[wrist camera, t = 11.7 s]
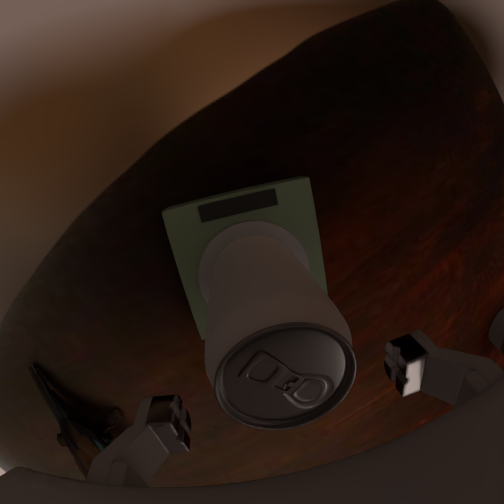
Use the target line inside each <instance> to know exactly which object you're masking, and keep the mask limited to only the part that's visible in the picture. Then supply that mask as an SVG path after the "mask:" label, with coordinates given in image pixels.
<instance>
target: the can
mask: <svg viewBox="0 0 504 504" xmlns="http://www.w3.org/2000/svg"><path fill="white" fill-rule="evenodd" d="M205 368H206V373H207V376H208V379H209V381H210V383H211V385H212V386H213V388H214V393H215V397H216V400H217V402H218V404H219V406H220V407H221V408H222V410H223V411H224V412H225V413H226V414H227V415H228V416H229V417H231V418H232V419H233V420H235V421H237V422H238V423H240V424H243V425H245V426H248V427H251V428H255V429H260V430H272V431H274V430H287V429H293V428H297V427H301V426H304V425H307V424H309V423H312V422H314V421H316V420H318V419H320V418H321V417H323V416H325V415H326V414H328V413H329V412H330V411H332V410H333V409H334V408H335V407H336V406H338V405H339V404H340V402H341V401H342V400H343V399H344V398H345V397H346V395H347V394H348V392H349V391H350V389H351V387H352V385H353V382H354V380H355V376H356V370H357V361H356V356H355V353H354V350H353V348H352V338H351V333H350V330H349V327H348V325H347V323H346V321H345V319H344V318H343V316H342V315H341V313H340V312H339V310H338V309H337V308H336V306H335V305H334V304H333V302H332V301H331V300H330V298H329V297H328V296H327V294H326V293H325V292H324V291H323V289H322V288H321V287H320V286H319V284H318V283H317V282H316V280H315V279H314V278H313V277H312V275H311V274H310V273H309V272H308V270H307V269H306V268H305V267H304V265H303V264H302V263H301V262H300V261H299V259H298V258H297V257H296V256H295V255H294V253H293V252H292V251H291V250H290V249H289V248H288V247H287V246H286V245H285V244H283V243H282V242H280V241H278V240H276V239H274V238H271V237H268V236H262V235H253V236H247V237H243V238H240V239H238V240H236V241H234V242H232V243H231V244H229V245H228V246H227V247H226V248H225V249H224V250H223V251H222V252H221V253H220V255H219V256H218V258H217V260H216V262H215V264H214V267H213V271H212V277H211V285H210V294H209V304H208V315H207V326H206V339H205Z"/></svg>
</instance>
